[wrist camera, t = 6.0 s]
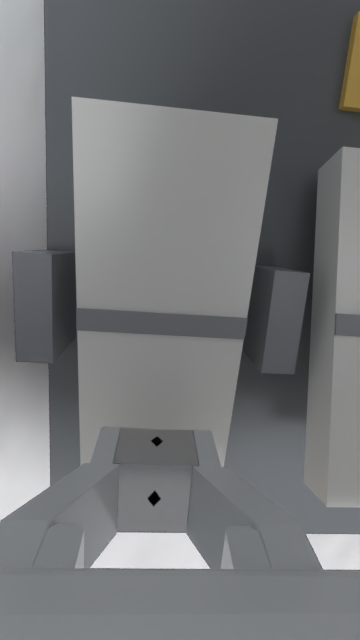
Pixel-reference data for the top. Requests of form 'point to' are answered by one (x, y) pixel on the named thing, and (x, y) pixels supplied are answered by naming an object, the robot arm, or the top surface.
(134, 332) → the block
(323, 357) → the rocker
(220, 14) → the switch unit
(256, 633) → the robot arm
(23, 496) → the top surface
